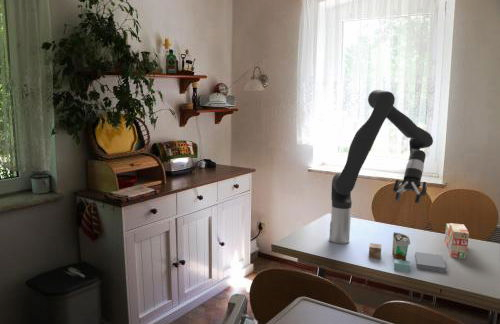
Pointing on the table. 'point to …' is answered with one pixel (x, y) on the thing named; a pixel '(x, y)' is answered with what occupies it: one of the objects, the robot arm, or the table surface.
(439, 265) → the slate board
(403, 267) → the teal block
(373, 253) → the walnut block
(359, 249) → the table surface
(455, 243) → the stack of blocks
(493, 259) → the table surface
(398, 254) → the food container
